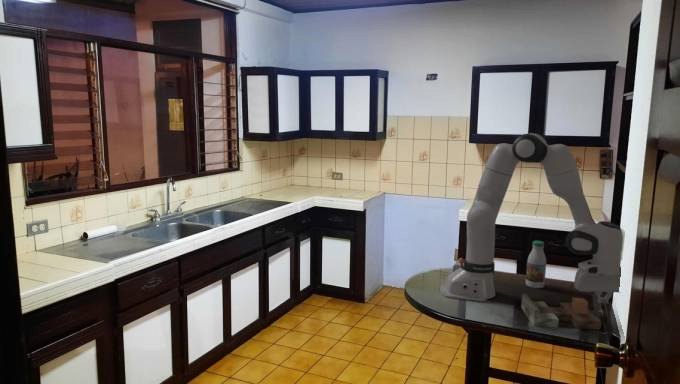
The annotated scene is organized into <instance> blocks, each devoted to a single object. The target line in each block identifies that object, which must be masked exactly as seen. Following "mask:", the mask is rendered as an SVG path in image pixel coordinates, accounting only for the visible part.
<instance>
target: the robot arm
mask: <svg viewBox="0 0 680 384" xmlns="http://www.w3.org/2000/svg"><path fill="white" fill-rule="evenodd" d="M520 162H522V163H529V164H530V163H535V164H536V163H538V164H539V163H540V165H541V166H542V167H543V170H544V173H545V176H546V180H547V183H548V186H549V188H550V190H551V192H552V193H553V194H554V196H557V197H558V198H561V199H562V200H564V201H565V202H566V203H567V205H568V207H569V210H570V213H571V216H572V218H573V222H574V229H573V230H571V231H569V232H568V233H567V235H566V237H565V245H566V248H567V249H568V250H569V251H570V252H571V253H572V254H575V255H578V256H579V255H581V256H589V255H590V256H591V255H592V258H591V259H588V260H585V261H581V262H579V263H577V264H578V265H577V267H578V268H579V269H578V270H577V271H576V272H575V277H574V281H573V282H574V283H573V286H574V288H575V289H576V290H577V291H578V292H584V293H585V292H588V293H592V292H594V293H595V295H596V297H597V302H598V303H599V304H609V300H610V298H612V296H613V293H620V292H619V287H620V277H621V267H622V266H621V263H622V258H621V253H622V249H623V242H624V241H623V239H624V238H623V229H622V228H621V227H620V225H618V224H616V223H614V222H612V221H606V220H603V221H601V220H600V221H598V222H597V223H596V221H595V220H594V219H593V216H592V214H591V210H590V207H589V205H588V202H587V200H586V196H585V193H584V190H583V185H582V180H581V176H580V172H579V169H578V165H577V163H576V160H575V158H574V156H573V154H572V152H571V150H570V148H569V147H568V146H567V145H566V144H562V143H556V144H548V141H547V138H545V137H544V135H541V134H539V133H534V132H528V133H524V134H521V135H519V136H517V137H516V138H515V140H514V141H513V143H512V144H509V143H505V142H504V143H503V142H502V143H498V144H496V145H495V146H494V147H493V149H492V150H491V153H490V155H489V157H488V158H487V160H486V163H485V166H484V167H483V169H484V170H483V172H482V175H481V177H480V179H479V183H478V187H477V188H476V189H477V190H476V193H475V197H474V199H473V201H472V205H471V207H470V209H469V210H468V212H467V215H466V252H465V253H466V254H465V255H466V256H465V258H462V257H459V258H458V260H459V263H461V267H460V268H459V269H457V270H456V271H454V272H453V271H452V272H451V273H449V274H448V276H447V278H446V281H445V283H442V284H441V285H440V287H439V290H440V293H441V294H442V295H443V296H444V297H445V298H451V299H459V300H467V301H477V302H485V301H487V300H489V299H492V298H494V297H495V296H496V292H495V291H496V290H495V286H494V275H495V265H496V264H495V261H494V259H495V245H496V241H495V240H496V239H495V238H496V237H495V236H496V220H497V218H498V215H499V212H500V210H501V207H502V205H503V202H504V199H505V197H506V194H507V192H508V188H509V186H510V183H511V180H512V177H513V175H514V173H515V169H516V168H517V166H518V164H519V163H520ZM603 293H606V294H605V295H604V296H601V295H602V294H603Z"/></svg>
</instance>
